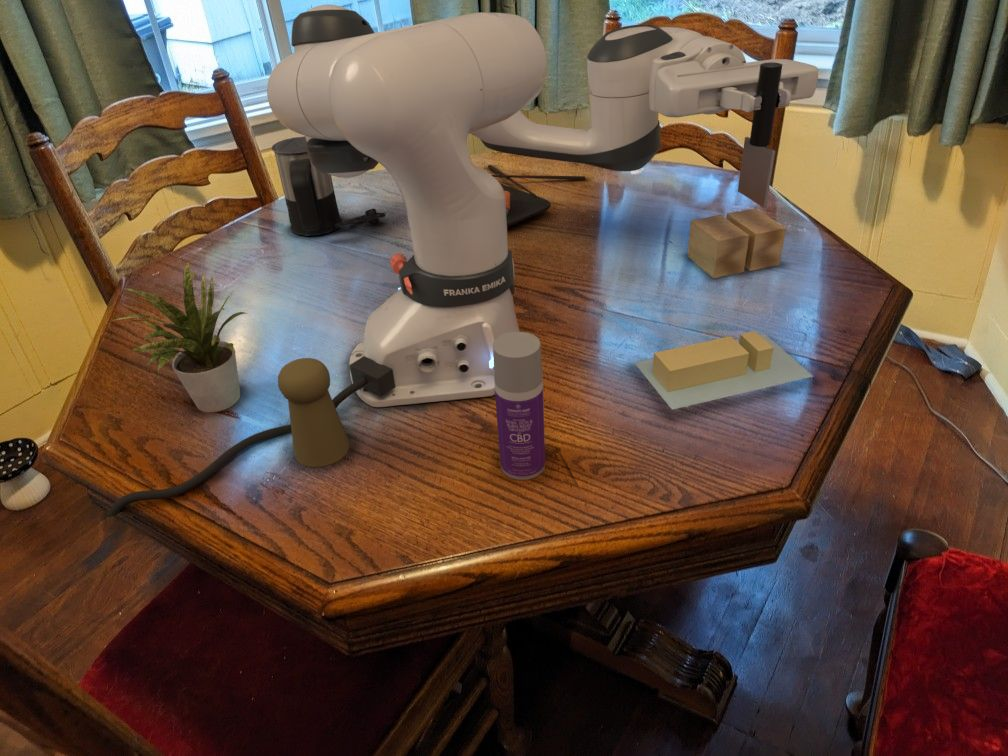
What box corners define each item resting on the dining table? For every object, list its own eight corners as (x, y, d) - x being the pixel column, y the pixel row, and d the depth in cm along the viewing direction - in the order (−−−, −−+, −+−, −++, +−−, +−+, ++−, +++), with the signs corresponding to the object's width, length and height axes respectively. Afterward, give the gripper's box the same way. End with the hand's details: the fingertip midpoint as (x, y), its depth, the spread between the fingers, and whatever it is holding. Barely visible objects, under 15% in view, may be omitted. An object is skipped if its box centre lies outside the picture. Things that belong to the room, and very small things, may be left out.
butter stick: (667, 392, 83) (669, 370, 82) (652, 373, 86) (653, 352, 85) (745, 374, 85) (749, 353, 84) (727, 356, 88) (730, 335, 87)
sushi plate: (396, 197, 140) (394, 178, 138) (511, 156, 156) (510, 138, 153) (497, 239, 122) (496, 218, 120) (615, 188, 137) (616, 168, 135)
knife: (756, 209, 89) (777, 71, 80) (730, 192, 94) (747, 60, 85) (773, 206, 90) (796, 68, 81) (747, 189, 95) (765, 58, 85)
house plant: (154, 378, 93) (107, 262, 84) (264, 352, 97) (231, 238, 87) (152, 445, 82) (98, 320, 73) (277, 412, 86) (240, 290, 76)
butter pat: (754, 372, 86) (758, 351, 84) (736, 354, 89) (739, 333, 87) (769, 369, 86) (774, 347, 84) (751, 351, 89) (754, 330, 87)
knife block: (713, 278, 107) (718, 240, 103) (687, 256, 113) (690, 219, 110) (779, 265, 109) (786, 228, 106) (750, 244, 115) (755, 208, 112)
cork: (337, 470, 77) (316, 385, 71) (284, 464, 78) (259, 381, 72) (357, 433, 82) (339, 351, 75) (307, 428, 83) (286, 347, 77)
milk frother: (285, 223, 132) (265, 141, 124) (367, 204, 138) (354, 124, 129) (304, 252, 122) (284, 165, 113) (393, 230, 127) (380, 145, 119)
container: (511, 486, 74) (503, 363, 65) (493, 458, 77) (483, 338, 69) (553, 471, 75) (550, 349, 66) (533, 445, 79) (528, 326, 70)
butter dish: (671, 416, 81) (672, 409, 81) (633, 368, 89) (633, 362, 89) (812, 383, 85) (813, 376, 84) (763, 340, 93) (764, 333, 92)
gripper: (776, 91, 99) (842, 118, 88) (638, 111, 95) (688, 142, 84) (784, 41, 96) (853, 62, 85) (640, 60, 92) (693, 85, 81)
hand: (770, 102), depth 84 cm, fingers closed on knife, 2 cm apart
